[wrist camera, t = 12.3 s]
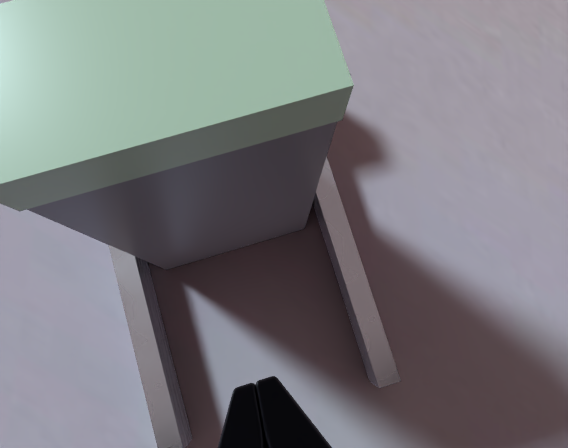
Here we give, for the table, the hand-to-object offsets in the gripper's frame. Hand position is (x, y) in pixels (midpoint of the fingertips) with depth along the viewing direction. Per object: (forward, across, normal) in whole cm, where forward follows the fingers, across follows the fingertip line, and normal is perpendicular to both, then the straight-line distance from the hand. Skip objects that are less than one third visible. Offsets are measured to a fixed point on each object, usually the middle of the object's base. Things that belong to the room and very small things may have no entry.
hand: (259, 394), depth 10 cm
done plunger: (+9, 0, +1) cm, 9 cm away
